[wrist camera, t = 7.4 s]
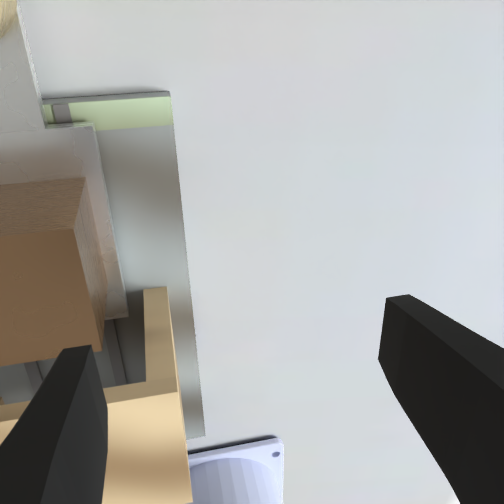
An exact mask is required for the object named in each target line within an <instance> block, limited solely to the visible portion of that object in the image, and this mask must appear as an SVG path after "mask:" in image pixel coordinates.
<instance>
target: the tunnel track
mask: <svg viewBox="0 0 504 504" xmlns="http://www.w3.org/2000/svg"><path fill="white" fill-rule="evenodd" d="M42 102H43V106H44V110H45V114H46V118H47V123H48V124H62V123H76V122H89V121H94V125H95V130H96V136H97V141H98V146H99V152H100V157H101V162H102V168H103V173H104V178H105V184H106V189H107V195H108V200H109V205H110V211H111V216H112V221H113V227H114V232H115V237H116V243H117V248H118V253H119V259H120V264H121V270H122V275H123V280H124V286H125V291H126V296H127V302H128V307H129V317H123V318H116V319H109V320H105V324H104V336H103V348H102V351H98V352H93V353H94V357H95V360H96V364H97V368H98V372H99V376H100V380H101V384H102V387H103V391H104V395H105V399H106V403H107V407H108V454H107V463H106V472H105V481H104V489H103V498H102V504H186V503H191V502H193V498H192V489H191V480H190V471H189V462H188V453H187V444H186V440H187V439H192V438H198V437H203V436H205V426H204V416H203V407H202V397H201V387H200V378H199V368H198V358H197V348H196V339H195V329H194V319H193V310H192V300H191V290H190V281H189V271H188V261H187V252H186V242H185V232H184V222H183V213H182V203H181V193H180V184H179V174H178V164H177V155H176V145H175V135H174V126H173V125H174V124H173V115H172V105H171V96H170V93H169V91H164V92H148V93H133V94H118V95H102V96H87V97H72V98H56V99H42ZM56 359H57V358H52V359H46V360H39V361H33V362H26V363H19V364H13V365H6V366H0V445H1V443H2V442H3V441H4V439H5V438H6V436H7V435H8V434H9V432H10V431H11V430H12V428H13V427H14V425H15V424H16V422H17V421H18V419H19V418H20V416H21V415H22V413H23V412H24V410H25V409H26V407H27V406H28V404H29V403H30V401H31V400H32V398H33V397H34V395H35V393H36V392H37V390H38V389H39V387H40V385H41V384H42V382H43V381H44V379H45V377H46V376H47V374H48V372H49V371H50V369H51V367H52V365H53V364H54V362H55V360H56Z"/></svg>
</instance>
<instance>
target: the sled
mask: <svg viewBox="0 0 504 504" xmlns="http://www.w3.org/2000/svg"><path fill="white" fill-rule="evenodd" d="M123 317H129V307H128V302H127V296H126V291H125V286H124V280H123V275H122V270H121V264H120V259H119V253H118V248H117V243H116V237H115V232H114V227H113V221H112V216H111V211H110V205H109V200H108V195H107V189H106V184H105V178H104V173H103V168H102V162H101V157H100V152H99V146H98V141H97V136H96V130H95V125H94V121H89V122H76V123H62V124H48V123H47V118H46V114H45V110H44V106H43V102H42V97H41V93H40V89H39V85H38V80H37V76H36V72H35V68H34V63H33V59H32V55H31V51H30V46H29V42H28V38H27V34H26V29H25V25H24V21H23V17H22V12H21V8H20V4H19V0H0V366H6V365H13V364H19V363H26V362H33V361H39V360H46V359H52V358H57V357H58V355H59V353H60V352H61V351H62V350H63V349H65V348H71V347H78V346H84V345H90V344H91V345H92V349H93V352H98V351H102V348H103V336H104V324H105V320H109V319H116V318H123Z"/></svg>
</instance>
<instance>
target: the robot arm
mask: <svg viewBox="0 0 504 504" xmlns="http://www.w3.org/2000/svg"><path fill="white" fill-rule="evenodd" d="M378 360H379V362H380V365H381V367H382V369H383V372H384V374H385V376H386V378H387V380H388V383H389V385H390V387H391V389H392V391H393V393H394V395H395V397H396V398H397V400H398V401H399V403H400V405H401V406H402V408H403V410H404V411H405V413H406V414H407V416H408V418H409V419H410V421H411V422H412V424H413V426H414V427H415V429H416V430H417V432H418V433H419V435H420V436H421V438H422V440H423V441H424V443H425V444H426V446H427V447H428V449H429V451H430V452H431V454H432V455H433V457H434V459H435V460H436V462H437V463H438V465H439V466H440V468H441V470H442V471H443V473H444V474H445V476H446V478H447V480H448V481H449V483H450V485H451V487H452V488H453V490H454V492H455V494H456V496H457V498H458V500H459V502H460V504H504V348H502V347H500V346H498V345H497V344H495V343H493V342H491V341H489V340H487V339H486V338H484V337H482V336H480V335H479V334H477V333H475V332H473V331H472V330H470V329H468V328H466V327H465V326H463V325H461V324H460V323H458V322H456V321H454V320H453V319H451V318H449V317H448V316H446V315H444V314H443V313H441V312H439V311H438V310H436V309H434V308H432V307H431V306H429V305H427V304H426V303H424V302H422V301H420V300H418V299H417V298H415V297H413V296H411V295H409V294H408V295H401V296H395V297H389V298H386V303H385V311H384V318H383V326H382V334H381V341H380V349H379V356H378ZM107 454H108V407H107V403H106V399H105V395H104V391H103V387H102V384H101V380H100V376H99V372H98V368H97V364H96V360H95V357H94V353H93V349H92V345H91V344H90V345H84V346H78V347H71V348H65V349H63V350H62V351H61V352H60V353H59V355H58V357H57V359H56V360H55V362H54V364H53V365H52V367H51V369H50V371H49V372H48V374H47V376H46V377H45V379H44V381H43V382H42V384H41V385H40V387H39V389H38V390H37V392H36V393H35V395H34V397H33V398H32V400H31V401H30V403H29V404H28V406H27V407H26V409H25V410H24V412H23V413H22V415H21V416H20V418H19V419H18V421H17V422H16V424H15V425H14V427H13V428H12V430H11V431H10V432H9V434H8V435H7V436H6V438H5V439H4V441H3V442H2V443H1V445H0V504H102V498H103V489H104V481H105V472H106V463H107ZM188 462H189V471H190V480H191V489H192V498H193V502H191V503H186V504H283V462H284V446H283V442H282V440H281V439H279V438H273V439H268V440H263V441H257V442H252V443H247V444H242V445H237V446H232V447H226V448H221V449H216V450H211V451H206V452H201V453H195V454H190V455H188Z"/></svg>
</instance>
